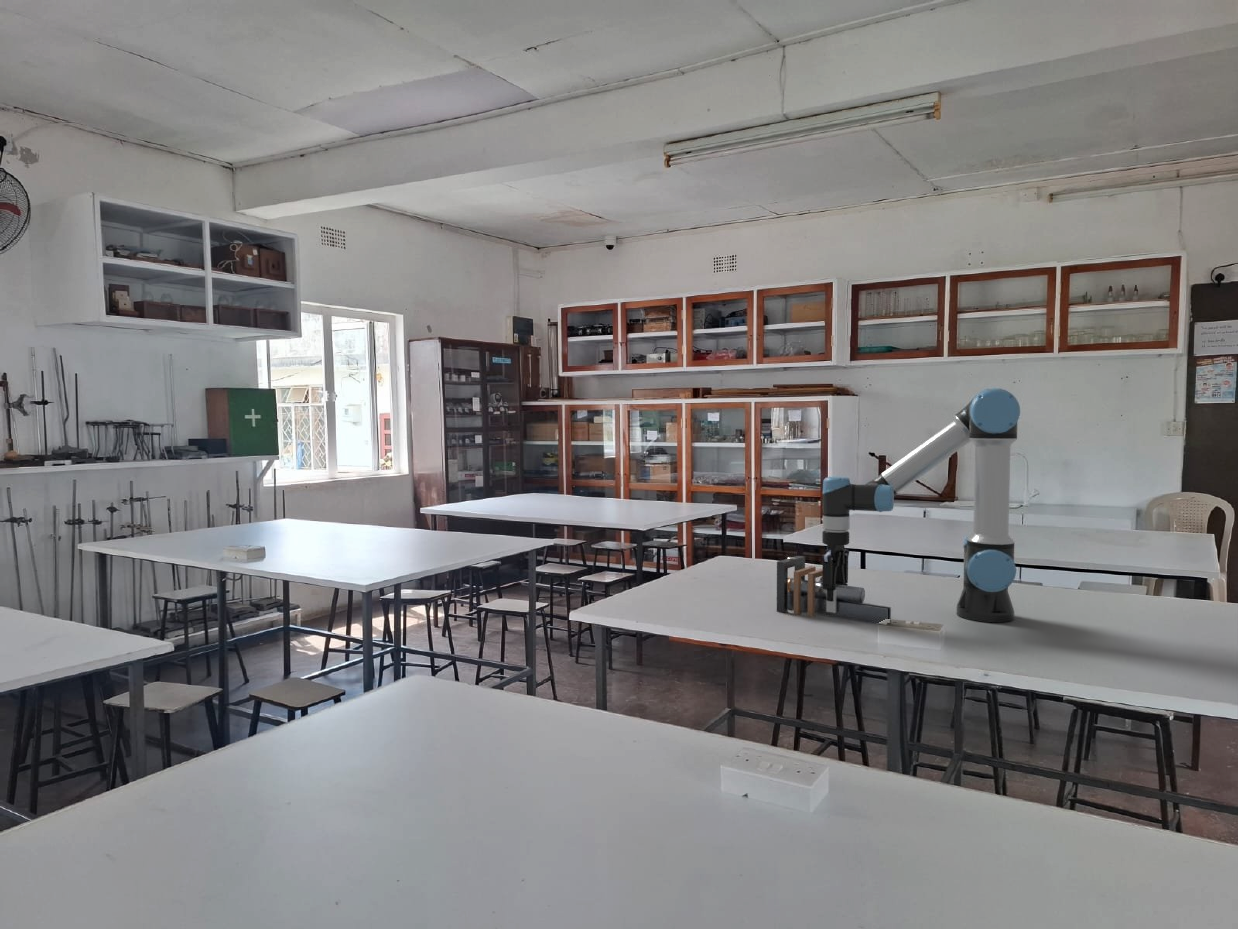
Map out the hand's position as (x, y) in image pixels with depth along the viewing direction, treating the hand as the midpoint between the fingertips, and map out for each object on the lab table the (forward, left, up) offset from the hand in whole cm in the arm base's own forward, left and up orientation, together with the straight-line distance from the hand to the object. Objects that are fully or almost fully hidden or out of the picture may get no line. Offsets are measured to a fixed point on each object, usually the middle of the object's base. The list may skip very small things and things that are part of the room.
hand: (835, 610), depth 230 cm
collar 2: (+5, 0, -2) cm, 5 cm away
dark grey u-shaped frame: (+14, 0, -2) cm, 14 cm away
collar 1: (+10, 0, -2) cm, 10 cm away
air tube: (+4, 0, +3) cm, 5 cm away
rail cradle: (0, 0, -2) cm, 2 cm away
